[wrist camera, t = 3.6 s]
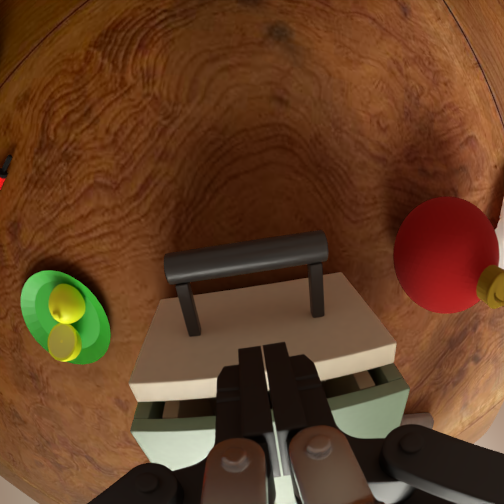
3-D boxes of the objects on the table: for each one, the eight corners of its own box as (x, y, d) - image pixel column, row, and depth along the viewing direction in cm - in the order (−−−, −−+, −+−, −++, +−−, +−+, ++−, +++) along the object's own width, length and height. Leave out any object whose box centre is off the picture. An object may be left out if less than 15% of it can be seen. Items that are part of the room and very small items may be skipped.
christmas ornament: (379, 296, 21) (456, 386, 12) (368, 200, 19) (472, 252, 9) (455, 268, 21) (541, 331, 11) (451, 179, 18) (560, 213, 9)
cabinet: (162, 322, 20) (129, 430, 11) (346, 294, 21) (410, 387, 12) (211, 451, 26) (210, 535, 17) (340, 432, 26) (367, 511, 17)
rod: (426, 407, 27) (438, 422, 25) (413, 424, 28) (424, 440, 25) (343, 408, 25) (354, 429, 22) (329, 428, 25) (339, 449, 23)
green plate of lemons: (128, 356, 21) (118, 381, 19) (49, 360, 21) (36, 381, 19) (90, 258, 19) (73, 275, 16) (11, 275, 19) (-9, 290, 16)
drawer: (143, 234, 18) (91, 295, 10) (338, 205, 18) (405, 247, 10) (209, 439, 24) (207, 514, 16) (338, 420, 24) (363, 490, 17)
